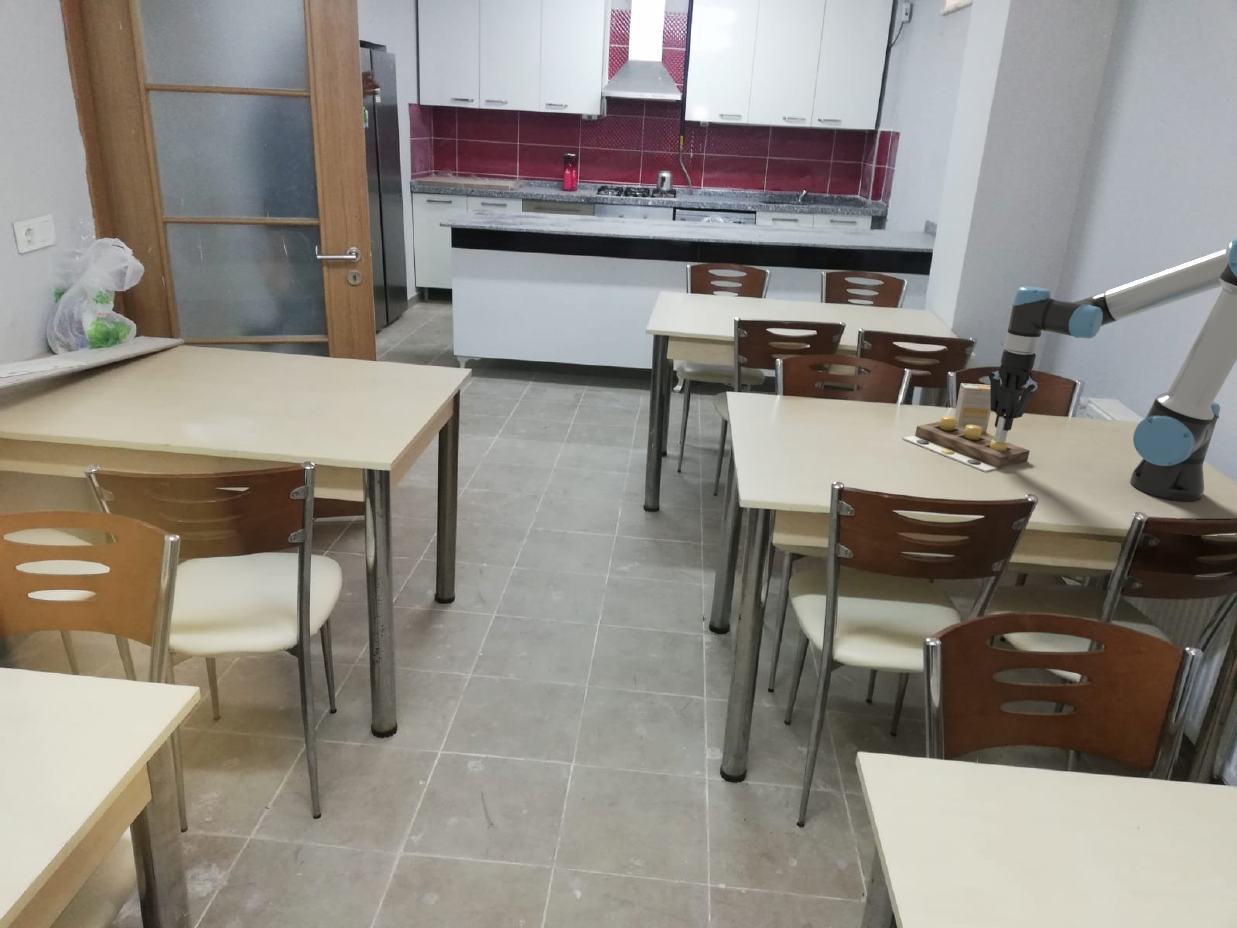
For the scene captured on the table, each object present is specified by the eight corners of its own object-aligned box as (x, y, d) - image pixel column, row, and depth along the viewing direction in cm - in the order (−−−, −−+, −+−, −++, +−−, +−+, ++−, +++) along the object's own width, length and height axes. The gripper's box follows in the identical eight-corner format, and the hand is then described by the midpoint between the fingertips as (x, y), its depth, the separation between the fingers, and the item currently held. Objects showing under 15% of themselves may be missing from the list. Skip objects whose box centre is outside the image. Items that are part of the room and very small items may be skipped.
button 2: (1008, 453, 223) (1011, 443, 222) (999, 456, 221) (1001, 445, 220) (995, 448, 227) (997, 438, 226) (985, 450, 224) (987, 440, 223)
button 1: (957, 429, 235) (959, 419, 234) (948, 431, 233) (950, 421, 232) (945, 424, 238) (947, 415, 237) (935, 426, 236) (937, 417, 235)
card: (996, 469, 217) (996, 467, 217) (985, 472, 215) (985, 470, 215) (913, 436, 237) (913, 435, 237) (902, 439, 235) (902, 437, 235)
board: (1027, 461, 224) (1029, 450, 223) (998, 468, 218) (1000, 457, 217) (943, 430, 244) (945, 420, 243) (915, 436, 238) (917, 426, 237)
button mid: (983, 438, 229) (985, 428, 228) (973, 440, 227) (975, 430, 226) (970, 433, 232) (972, 423, 231) (960, 435, 230) (962, 425, 229)
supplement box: (981, 429, 247) (990, 384, 242) (986, 434, 243) (996, 389, 238) (951, 426, 248) (960, 382, 243) (955, 432, 243) (965, 387, 239)
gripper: (1053, 355, 211) (1031, 447, 220) (1006, 343, 221) (986, 431, 230) (1034, 358, 207) (1013, 451, 216) (987, 346, 217) (968, 435, 226)
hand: (999, 441), depth 223 cm, fingers closed
